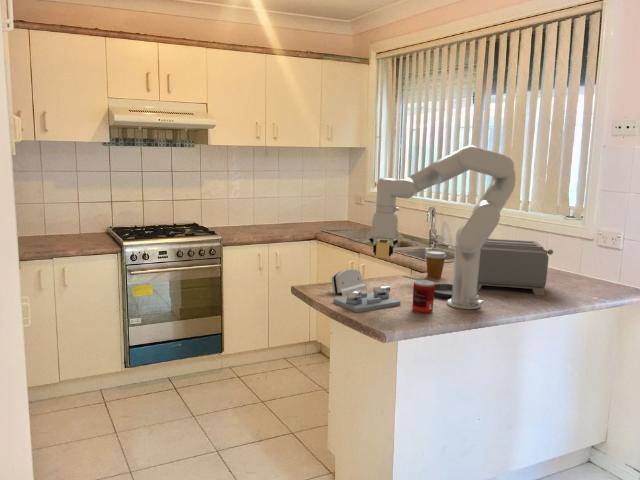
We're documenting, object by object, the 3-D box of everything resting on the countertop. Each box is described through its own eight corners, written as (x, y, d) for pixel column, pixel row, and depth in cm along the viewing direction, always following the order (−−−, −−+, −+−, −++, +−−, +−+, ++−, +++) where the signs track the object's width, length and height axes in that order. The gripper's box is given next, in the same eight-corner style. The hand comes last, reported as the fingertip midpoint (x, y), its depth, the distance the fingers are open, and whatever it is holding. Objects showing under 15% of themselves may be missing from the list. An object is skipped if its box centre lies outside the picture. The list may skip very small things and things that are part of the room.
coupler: (388, 258, 222) (389, 241, 221) (375, 257, 223) (376, 240, 222) (389, 255, 227) (390, 239, 226) (377, 254, 228) (378, 238, 227)
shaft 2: (383, 299, 226) (384, 284, 225) (391, 301, 222) (391, 286, 221) (371, 301, 222) (372, 286, 221) (378, 303, 219) (379, 288, 218)
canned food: (430, 307, 216) (432, 279, 214) (435, 314, 208) (437, 285, 206) (410, 307, 215) (411, 279, 214) (414, 313, 208) (416, 284, 206)
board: (375, 295, 230) (375, 288, 230) (400, 305, 218) (400, 297, 218) (333, 302, 219) (333, 294, 218) (356, 312, 206) (357, 304, 206)
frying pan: (456, 303, 224) (456, 294, 223) (390, 287, 246) (391, 279, 245) (478, 295, 237) (478, 287, 236) (414, 281, 258) (414, 273, 258)
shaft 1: (353, 304, 217) (353, 288, 216) (362, 306, 215) (363, 290, 214) (344, 307, 212) (345, 291, 211) (354, 309, 210) (355, 294, 209)
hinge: (342, 296, 228) (337, 271, 229) (333, 297, 232) (328, 273, 232) (367, 289, 241) (362, 266, 241) (359, 290, 244) (353, 268, 245)
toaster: (554, 296, 240) (559, 248, 237) (469, 289, 246) (473, 243, 243) (544, 285, 259) (549, 241, 255) (466, 279, 265) (469, 236, 261)
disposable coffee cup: (437, 274, 273) (438, 250, 271) (448, 279, 264) (450, 253, 262) (420, 275, 270) (421, 250, 268) (430, 280, 261) (432, 254, 259)
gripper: (408, 210, 224) (405, 255, 227) (365, 207, 227) (362, 251, 230) (406, 212, 216) (403, 258, 219) (362, 209, 220) (360, 255, 223)
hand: (382, 254), depth 225 cm, fingers closed on coupler, 5 cm apart
